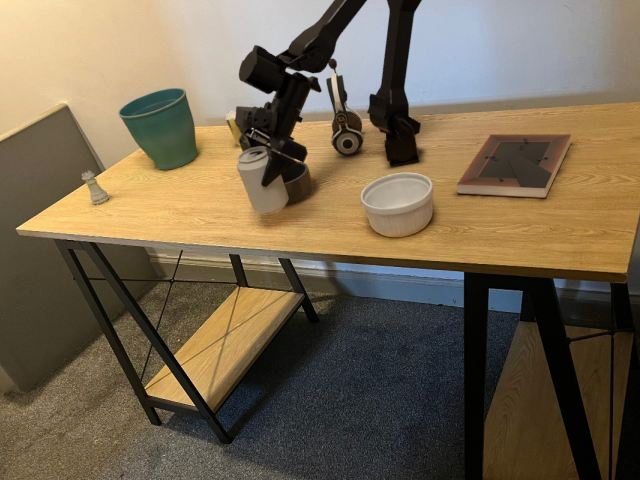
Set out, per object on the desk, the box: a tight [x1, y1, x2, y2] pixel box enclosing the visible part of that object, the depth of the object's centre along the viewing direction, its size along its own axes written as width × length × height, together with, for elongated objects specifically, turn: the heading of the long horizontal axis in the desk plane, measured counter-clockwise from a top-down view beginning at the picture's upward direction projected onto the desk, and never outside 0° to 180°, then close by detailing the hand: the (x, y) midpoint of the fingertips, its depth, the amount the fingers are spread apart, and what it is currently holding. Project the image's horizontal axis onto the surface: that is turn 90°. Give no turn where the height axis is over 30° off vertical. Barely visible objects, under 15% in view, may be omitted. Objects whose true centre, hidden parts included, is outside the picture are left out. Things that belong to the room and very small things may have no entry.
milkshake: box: [224, 110, 241, 147], centre depth 156 cm, size 4×5×10 cm
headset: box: [325, 57, 365, 157], centre depth 135 cm, size 17×8×20 cm, turn 1°
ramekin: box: [360, 171, 434, 238], centre depth 106 cm, size 13×13×7 cm
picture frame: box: [456, 133, 572, 199], centre depth 114 cm, size 16×2×22 cm
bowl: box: [281, 160, 315, 207], centre depth 127 cm, size 11×11×5 cm
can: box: [236, 146, 289, 215], centre depth 113 cm, size 8×8×12 cm
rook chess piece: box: [81, 170, 110, 205], centre depth 147 cm, size 4×4×8 cm
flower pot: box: [117, 87, 199, 171], centre depth 155 cm, size 18×18×17 cm
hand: (255, 180), depth 112 cm, fingers closed on can, 7 cm apart
